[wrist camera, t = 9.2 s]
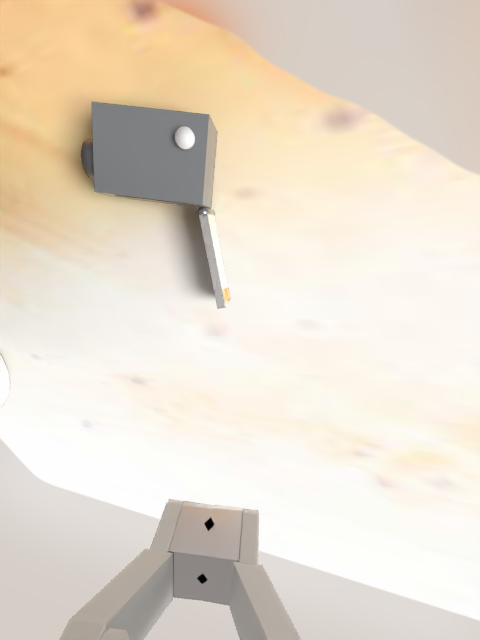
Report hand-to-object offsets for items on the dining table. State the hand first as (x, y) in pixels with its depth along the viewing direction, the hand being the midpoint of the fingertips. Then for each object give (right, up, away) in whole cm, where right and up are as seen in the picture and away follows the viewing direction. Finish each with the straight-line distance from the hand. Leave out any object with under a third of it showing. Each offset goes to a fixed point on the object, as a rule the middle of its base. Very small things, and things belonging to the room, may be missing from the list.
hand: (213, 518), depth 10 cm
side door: (-1, +14, +22) cm, 26 cm away
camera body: (-7, +22, +20) cm, 31 cm away
